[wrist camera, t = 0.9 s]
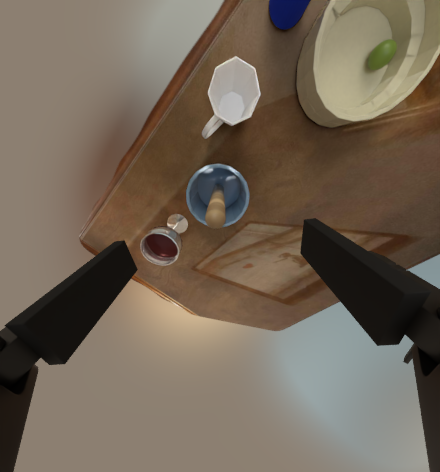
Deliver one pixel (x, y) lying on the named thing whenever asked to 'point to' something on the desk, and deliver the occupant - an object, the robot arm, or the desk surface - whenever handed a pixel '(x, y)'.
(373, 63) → the olive
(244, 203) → the utensil pot
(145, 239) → the wineglass
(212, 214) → the stick
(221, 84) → the cup
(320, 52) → the bowl
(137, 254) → the desk surface
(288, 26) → the beverage can
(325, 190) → the desk surface
